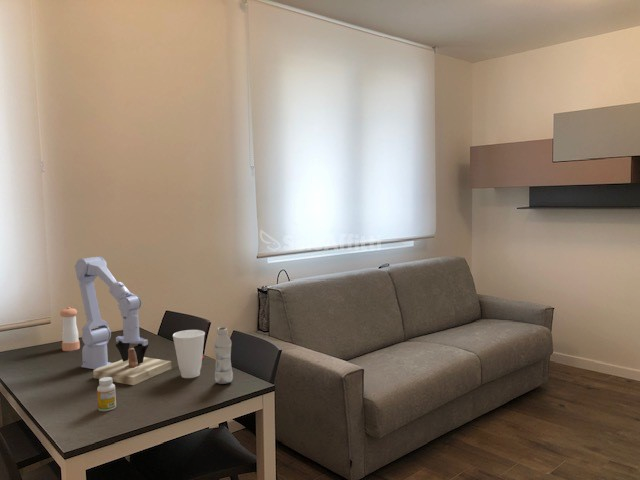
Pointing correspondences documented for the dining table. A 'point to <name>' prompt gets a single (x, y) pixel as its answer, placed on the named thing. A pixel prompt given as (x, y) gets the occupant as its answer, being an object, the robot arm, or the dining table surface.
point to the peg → (132, 358)
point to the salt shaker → (69, 330)
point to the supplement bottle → (106, 394)
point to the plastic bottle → (223, 357)
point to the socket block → (132, 370)
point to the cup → (189, 351)
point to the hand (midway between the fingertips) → (132, 361)
